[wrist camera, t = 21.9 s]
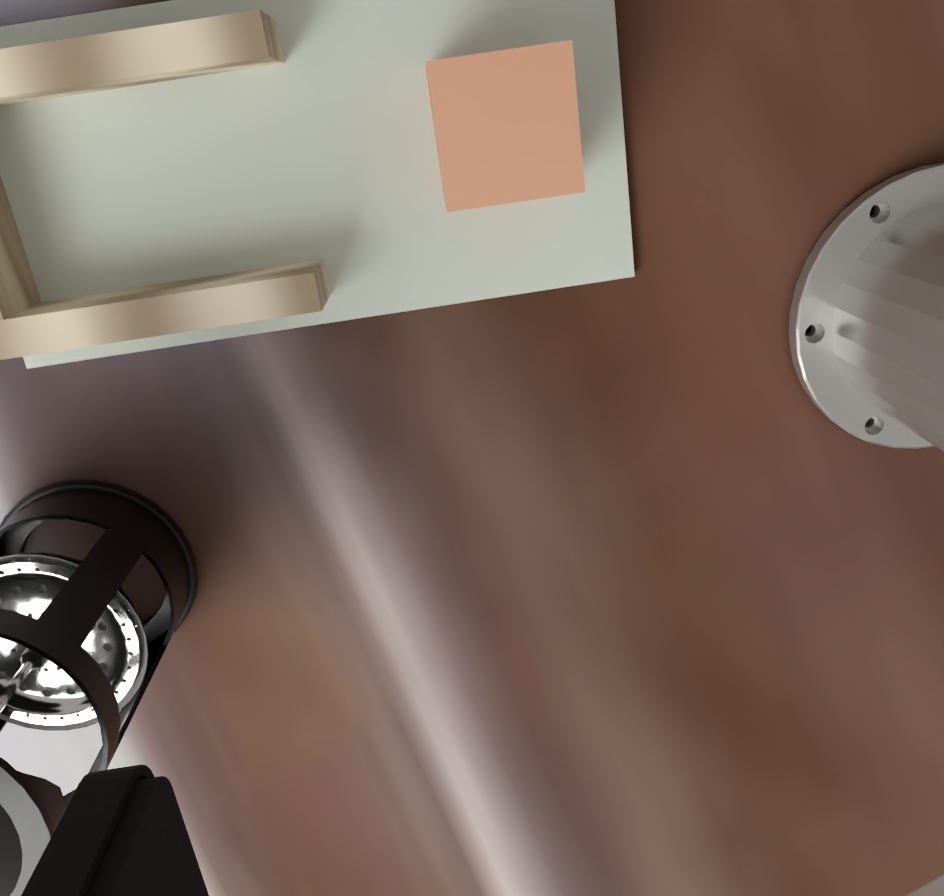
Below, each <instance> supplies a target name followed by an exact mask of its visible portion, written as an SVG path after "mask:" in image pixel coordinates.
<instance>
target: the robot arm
mask: <svg viewBox="0 0 944 896" xmlns="http://www.w3.org/2000/svg"><path fill="white" fill-rule="evenodd" d="M873 206H874V207H875V211H874V213H873V215H872V216H870V211H871V208H872V207H873ZM810 325H811V331H810V332H809V333H807V334H805V331H806V329H807V328H808V327H809V326H810ZM789 343H790V349H791V355H792V362H793V365H794V368H795V370H796V373H797V375H798V378H799V381H800V383H801V386H802V387H803V389H804V390H805V392H806V393H807V395H808V396H809V398H810V399H811V401H812V402H813V404H814V405H815V406H816V407H817V408H818V409H819V410H820V411H821V412H822V413H824V414H825V415H826V416H827V417H828V418H829V419H830V420H831V421H832V422H834V423H835V424H837V425H838V426H840V427H841V428H843V429H844V430H845V431H847V432H848V433H850V434H852V435H854V436H856V437H858V438H860V439H862V440H864V441H867V442H870V443H874V444H879V445H883V446H887V447H892V448H916V449H919V448H925V447H932V446H936V447H937V448H939V449H941V450H942V451H944V163H939V164H932V165H926V166H920V167H918V168H915V169H912V170H909V171H906V172H903V173H900V174H898V175H895V176H892V177H891V178H889V179H887V180H885V181H884V182H882V183H880V184H878V185H876V186H875V187H873V188H871V189H869V190H868V191H866V192H865V193H864V194H862V195H861V196H860V197H859V198H858V199H856V200H855V201H854V202H853V203H851V204H850V205H849V206H848V207H846V208H845V209H844V210H843V211H842V212H841V213H840V214H839V215H838V217H837V218H836V219H835V220H834V221H833V222H832V223H831V224H830V226H829V227H828V228H827V229H826V230H825V231H824V232H823V234H822V235H821V237H820V238H819V240H818V241H817V243H816V245H815V246H814V248H813V249H812V251H811V253H810V254H809V256H808V257H807V259H806V262H805V264H804V266H803V269H802V271H801V274H800V276H799V278H798V281H797V283H796V286H795V291H794V295H793V299H792V304H791V308H790V318H789ZM868 420H869V421H868ZM867 421H868V422H867ZM866 422H867V423H866ZM21 896H209V895H208V892H207V889H206V886H205V883H204V880H203V877H202V874H201V871H200V868H199V865H198V862H197V859H196V856H195V853H194V850H193V847H192V844H191V841H190V838H189V835H188V833H187V830H186V827H185V824H184V821H183V818H182V815H181V812H180V809H179V806H178V803H177V800H176V797H175V794H174V791H173V788H172V786H171V783H170V781H169V780H168V779H167V778H166V777H163V776H161V777H154V775H153V773H152V771H151V770H150V769H149V768H148V767H147V766H146V765H136V766H130V767H123V768H117V769H110V770H103V771H97V772H90V773H89V774H87V775H85V776H84V778H83V779H82V780H81V782H80V783H79V785H78V787H77V789H76V791H75V793H74V795H73V796H72V798H71V800H70V802H69V804H68V806H67V808H66V810H65V812H64V814H63V816H62V818H61V820H60V821H59V823H58V825H57V827H56V829H55V831H54V833H53V835H52V837H51V839H50V841H49V843H48V845H47V846H46V848H45V850H44V852H43V854H42V856H41V858H40V860H39V862H38V864H37V866H36V868H35V869H34V871H33V873H32V875H31V877H30V879H29V881H28V883H27V885H26V887H25V889H24V891H23V893H22V894H21Z"/></svg>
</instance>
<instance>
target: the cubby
mask: <svg viewBox="0 0 944 896" xmlns="http://www.w3.org/2000/svg"><path fill="white" fill-rule="evenodd" d="M281 63H284V59H283V54H282V49H281V44H280V39H279V34H278V29H277V24H276V20H274V19H273V18H271V17H270V16H268V15H267V14H265V13H264V12H262V11H261V10H260V9H259V10H253V11H246V12H239V13H233V14H226V15H220V16H213V17H207V18H200V19H193V20H187V21H180V22H174V23H167V24H161V25H154V26H148V27H141V28H134V29H128V30H121V31H115V32H108V33H102V34H95V35H88V36H82V37H75V38H69V39H62V40H56V41H49V42H43V43H36V44H29V45H23V46H16V47H10V48H3V49H0V106H5V105H12V104H19V103H25V102H32V101H38V100H45V99H51V98H58V97H65V96H71V95H78V94H84V93H91V92H97V91H104V90H111V89H117V88H124V87H130V86H137V85H143V84H150V83H157V82H163V81H170V80H176V79H183V78H189V77H196V76H203V75H209V74H216V73H222V72H229V71H235V70H242V69H248V68H255V67H262V66H268V65H275V64H281ZM330 295H331V292H330V287H329V283H328V278H327V273H326V268H325V263H324V259H321V260H314V261H307V262H301V263H294V264H288V265H281V266H275V267H268V268H261V269H255V270H248V271H242V272H235V273H228V274H222V275H215V276H209V277H202V278H196V279H189V280H182V281H176V282H169V283H163V284H156V285H149V286H143V287H136V288H130V289H123V290H117V291H110V292H103V293H97V294H90V295H84V296H77V297H70V298H64V299H57V300H51V301H44V302H41V299H40V296H39V293H38V290H37V287H36V284H35V281H34V278H33V274H32V271H31V268H30V265H29V262H28V259H27V256H26V253H25V250H24V247H23V244H22V240H21V237H20V234H19V231H18V228H17V225H16V222H15V219H14V216H13V213H12V210H11V206H10V203H9V200H8V197H7V194H6V191H5V188H4V185H3V182H2V179H1V176H0V360H3V359H10V358H16V357H23V356H29V355H36V354H43V353H49V352H56V351H62V350H69V349H76V348H82V347H89V346H95V345H102V344H108V343H115V342H122V341H128V340H135V339H141V338H148V337H155V336H161V335H168V334H174V333H181V332H188V331H194V330H201V329H207V328H214V327H220V326H227V325H234V324H240V323H247V322H253V321H260V320H267V319H273V318H280V317H286V316H293V315H300V314H306V313H313V312H319V311H322V310H323V308H324V306H325V304H326V302H327V301H328V299H329V297H330Z"/></svg>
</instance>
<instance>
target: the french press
mask: <svg viewBox="0 0 944 896" xmlns="http://www.w3.org/2000/svg"><path fill="white" fill-rule="evenodd" d="M47 519H70V520H75V521H81V522H87V523H90V524H93V525H96V526H99V527H102V528H104V529H107V530H106V531H105V533H104V534H103V535H102V536H101V538H100V539H99V540H98V542H97V543H96V544H95V546H94V547H93V548H92V549H91V551H90V552H89V553H88V555H87V556H86V557H85V558H84V560H83V561H80V560H77V559H74V558H70V557H67V556H63V555H56V554H49V553H21V551H22V548H23V545H24V542H25V540H26V539H27V537H28V535H29V534H30V532H31V531H32V530H33V529H34V528H35V527H36V526H37V525H39V524H40V523H42V522H43V521H45V520H47ZM142 553H143V555H144V556H145V557H146V558H147V559H148V560H149V561H150V563H151V564H152V565H153V566H154V568H155V569H156V571H157V573H158V574H159V576H160V578H161V579H162V581H163V584H164V586H165V589H166V596H165V599H164V601H163V604H162V606H161V608H160V609H159V610H158V612H157V613H156V614H155V615H154V616H153V617H152V618H151V619H150V620H149V621H148V622H146V623H145V624H143V623H142V620H141V617H140V615H139V613H138V611H137V609H136V607H135V606H134V604H133V602H132V600H131V599H130V597H129V596H128V595H127V594H126V592H125V591H124V590H123V589H122V588H121V587H120V586H121V585H122V583H123V582H124V580H125V578H126V577H127V575H128V574H129V572H130V571H131V569H132V568H133V566H134V565H135V563H136V562H137V560H138V559H139V557H140V555H141V554H142ZM196 584H197V574H196V563H195V560H194V557H193V554H192V550H191V547H190V545H189V543H188V541H187V539H186V538H185V536H184V534H183V532H182V531H181V529H180V528H179V527H178V525H177V524H176V523H175V522H174V521H173V520H172V518H171V517H170V516H169V515H168V514H167V513H166V512H164V511H163V510H162V509H161V508H160V507H158V506H157V505H156V504H155V503H153V502H152V501H150V500H148V499H147V498H145V497H143V496H141V495H140V494H138V493H136V492H134V491H131V490H128V489H126V488H123V487H120V486H118V485H114V484H109V483H103V482H98V481H71V482H65V483H60V484H54V485H51V486H49V487H46V488H43V489H41V490H38V491H36V492H34V493H33V494H31V495H30V496H28V497H26V498H25V499H23V500H22V501H20V502H19V503H18V504H17V505H16V506H15V507H14V508H13V509H12V510H11V511H10V512H9V513H8V515H7V516H6V517H5V518H4V520H3V522H2V523H1V525H0V732H1V730H2V729H3V727H4V726H5V724H6V723H7V722H10V723H13V724H17V725H20V726H23V727H27V728H34V729H40V730H71V729H76V728H82V727H87V726H89V725H92V724H95V723H98V722H99V724H100V727H101V734H102V741H103V746H102V748H101V750H100V752H99V754H98V756H97V758H96V760H95V762H94V763H93V765H92V767H91V769H90V771H89V773H90V772H97V771H103V770H107V768H108V766H109V764H110V762H111V760H112V758H113V756H114V753H115V751H116V749H117V747H118V745H119V743H120V741H121V739H122V737H123V735H124V733H125V731H126V729H127V727H128V725H129V723H130V721H131V719H132V717H133V715H134V713H135V711H136V708H137V706H138V704H139V702H140V700H141V698H142V696H143V694H144V692H145V690H146V688H147V686H148V684H149V682H150V680H151V678H152V676H153V674H154V672H155V670H156V668H157V665H158V663H159V661H160V659H161V657H162V655H163V653H164V651H165V649H166V647H167V645H168V643H169V641H170V639H171V637H172V635H173V633H174V632H175V631H176V630H177V629H178V628H179V627H180V625H181V624H182V622H183V621H184V619H185V618H186V616H187V615H188V613H189V610H190V608H191V605H192V603H193V600H194V598H195V592H196ZM121 708H122V709H121ZM120 709H121V711H120V713H119V710H120ZM89 773H88V774H89ZM75 791H76V789H75V790H74V791H72V792H70V793H68V794H67V795H65V796H63V795H62V792H61V789H60V787H58V786H57V785H55V784H53V783H51V782H49V781H47V780H46V779H43V778H39V777H35V776H32V775H28V774H24V773H21V772H18V771H16V770H15V769H14V768H13V767H12V766H11V765H10V764H8V763H7V762H6V761H5V760H3V759H2V758H0V896H21V894H22V893H23V891H24V889H25V887H26V885H27V883H28V881H29V879H30V877H31V875H32V873H33V871H34V869H35V868H36V866H37V864H38V862H39V860H40V858H41V856H42V854H43V852H44V850H45V848H46V846H47V845H48V843H49V841H50V839H51V837H52V835H53V833H54V831H55V829H56V827H57V825H58V823H59V821H60V820H61V818H62V816H63V814H64V812H65V810H66V808H67V806H68V804H69V802H70V800H71V798H72V796H73V795H74V793H75Z"/></svg>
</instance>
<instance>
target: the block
mask: <svg viewBox="0 0 944 896" xmlns="http://www.w3.org/2000/svg"><path fill="white" fill-rule="evenodd" d="M426 75H427V82H428V89H429V96H430V103H431V110H432V117H433V124H434V131H435V138H436V145H437V152H438V159H439V166H440V173H441V180H442V187H443V194H444V201H445V204H446V208H447V212H453V211H460V210H466V209H473V208H480V207H487V206H494V205H500V204H507V203H514V202H521V201H528V200H534V199H541V198H548V197H555V196H562V195H568V194H575V193H582V192H585V182H584V170H583V159H582V147H581V136H580V124H579V113H578V101H577V89H576V78H575V66H574V55H573V43H572V40H567V41H561V42H554V43H547V44H540V45H533V46H527V47H520V48H513V49H506V50H499V51H493V52H486V53H479V54H472V55H465V56H459V57H452V58H445V59H438V60H431V61H426Z"/></svg>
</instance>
